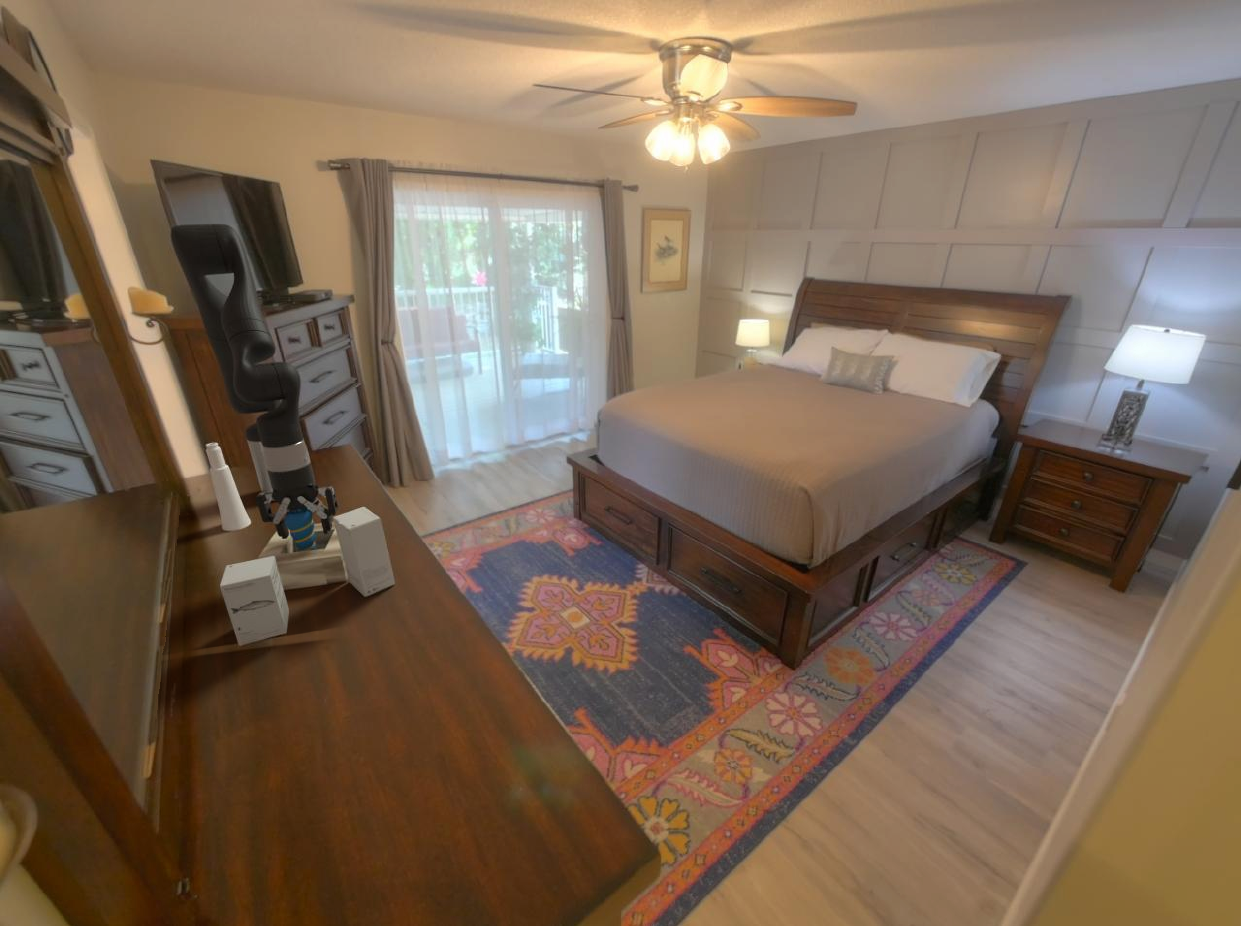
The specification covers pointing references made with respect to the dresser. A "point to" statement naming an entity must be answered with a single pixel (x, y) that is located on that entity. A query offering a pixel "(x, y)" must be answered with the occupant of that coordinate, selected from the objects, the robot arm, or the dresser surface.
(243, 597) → the supplement box
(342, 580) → the socket block
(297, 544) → the ornament
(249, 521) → the cosmetic bottle
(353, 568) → the skincare box
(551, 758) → the dresser surface
